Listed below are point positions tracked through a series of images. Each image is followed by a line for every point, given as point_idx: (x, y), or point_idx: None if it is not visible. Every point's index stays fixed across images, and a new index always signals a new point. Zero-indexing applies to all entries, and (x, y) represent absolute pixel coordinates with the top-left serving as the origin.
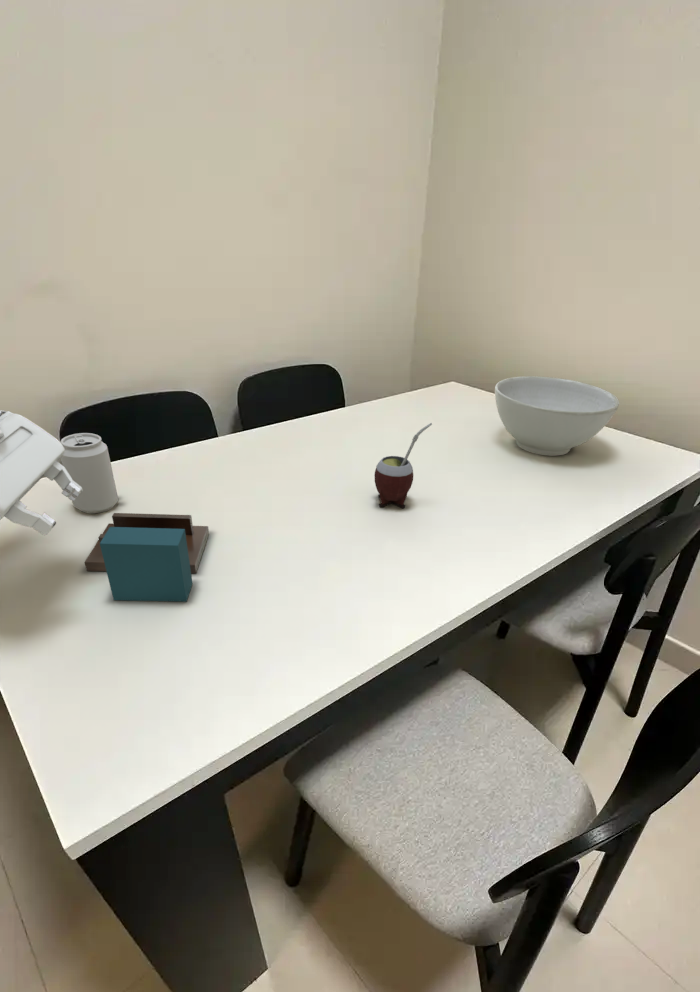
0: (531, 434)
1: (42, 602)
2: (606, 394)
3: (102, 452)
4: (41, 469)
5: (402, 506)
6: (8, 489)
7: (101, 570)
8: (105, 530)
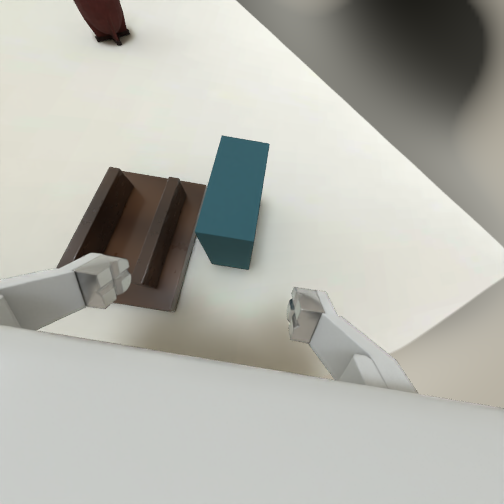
0: None
1: (242, 356)
2: None
3: None
4: (60, 348)
5: (128, 31)
6: (470, 476)
7: (179, 291)
8: None
